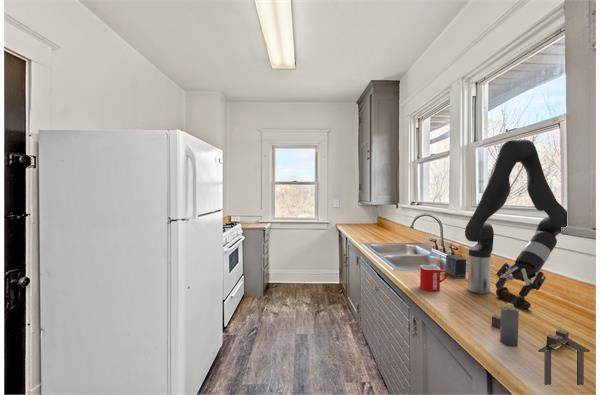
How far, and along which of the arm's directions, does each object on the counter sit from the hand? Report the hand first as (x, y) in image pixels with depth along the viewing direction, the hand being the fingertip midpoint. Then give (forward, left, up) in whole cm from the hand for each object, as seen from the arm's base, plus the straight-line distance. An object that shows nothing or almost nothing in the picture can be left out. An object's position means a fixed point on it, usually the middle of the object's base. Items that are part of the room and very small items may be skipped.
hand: (509, 291), depth 109 cm
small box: (-46, -50, -15) cm, 69 cm away
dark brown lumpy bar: (-30, -12, -15) cm, 35 cm away
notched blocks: (-4, +4, -14) cm, 16 cm away
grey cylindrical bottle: (+8, +4, -14) cm, 17 cm away
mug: (-16, -42, -14) cm, 47 cm away
